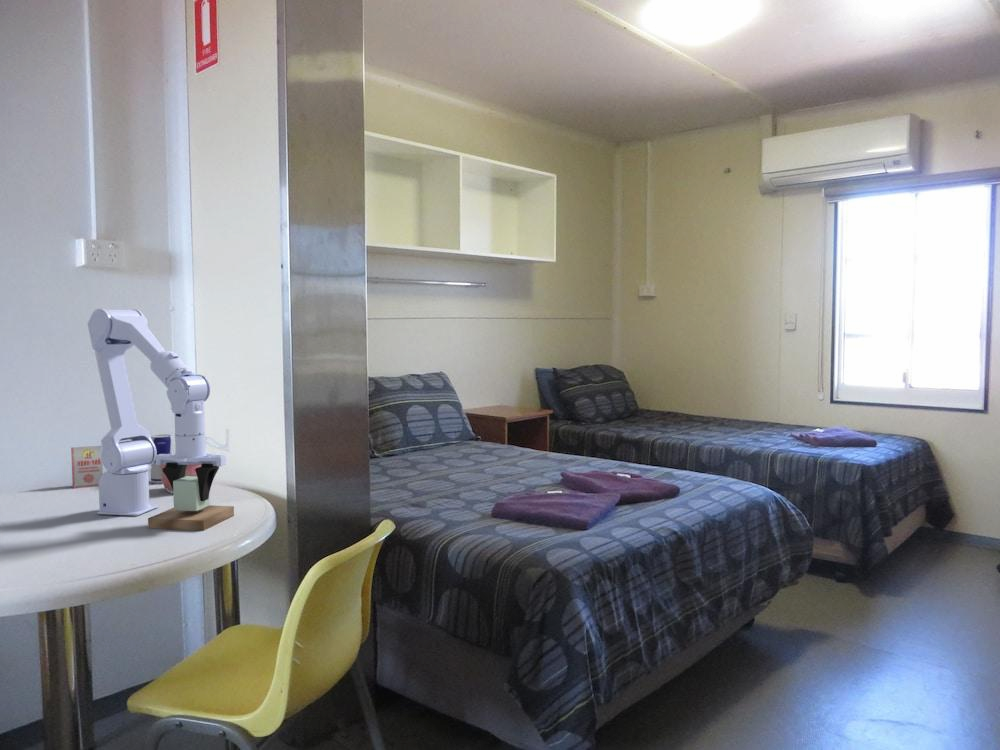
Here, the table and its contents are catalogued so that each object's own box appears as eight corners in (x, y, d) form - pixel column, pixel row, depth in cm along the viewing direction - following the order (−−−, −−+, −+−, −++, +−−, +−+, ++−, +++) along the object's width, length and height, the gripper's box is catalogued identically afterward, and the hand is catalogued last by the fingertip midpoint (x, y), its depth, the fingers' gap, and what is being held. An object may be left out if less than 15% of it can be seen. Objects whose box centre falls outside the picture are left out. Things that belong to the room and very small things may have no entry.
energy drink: (164, 484, 195) (163, 437, 194) (146, 483, 196) (144, 437, 195) (177, 480, 200) (176, 434, 200) (159, 479, 201) (158, 434, 201)
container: (196, 494, 183) (195, 461, 183) (153, 494, 184) (152, 461, 183) (213, 485, 194) (212, 454, 193) (172, 485, 194) (171, 454, 193)
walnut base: (148, 528, 153) (147, 518, 153) (182, 513, 165) (181, 504, 165) (203, 530, 151) (203, 520, 151) (234, 515, 163) (233, 506, 163)
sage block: (173, 510, 156) (173, 481, 155) (187, 504, 161) (186, 476, 160) (196, 510, 155) (195, 481, 155) (209, 505, 160) (208, 476, 160)
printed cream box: (72, 485, 194) (71, 446, 193) (102, 482, 197) (101, 444, 196) (72, 488, 191) (71, 448, 190) (103, 485, 194) (101, 446, 193)
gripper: (145, 436, 154) (147, 502, 155) (212, 437, 152) (214, 505, 153) (166, 431, 161) (168, 495, 162) (230, 432, 159) (232, 497, 160)
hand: (191, 499), depth 158 cm, fingers closed on sage block, 5 cm apart
